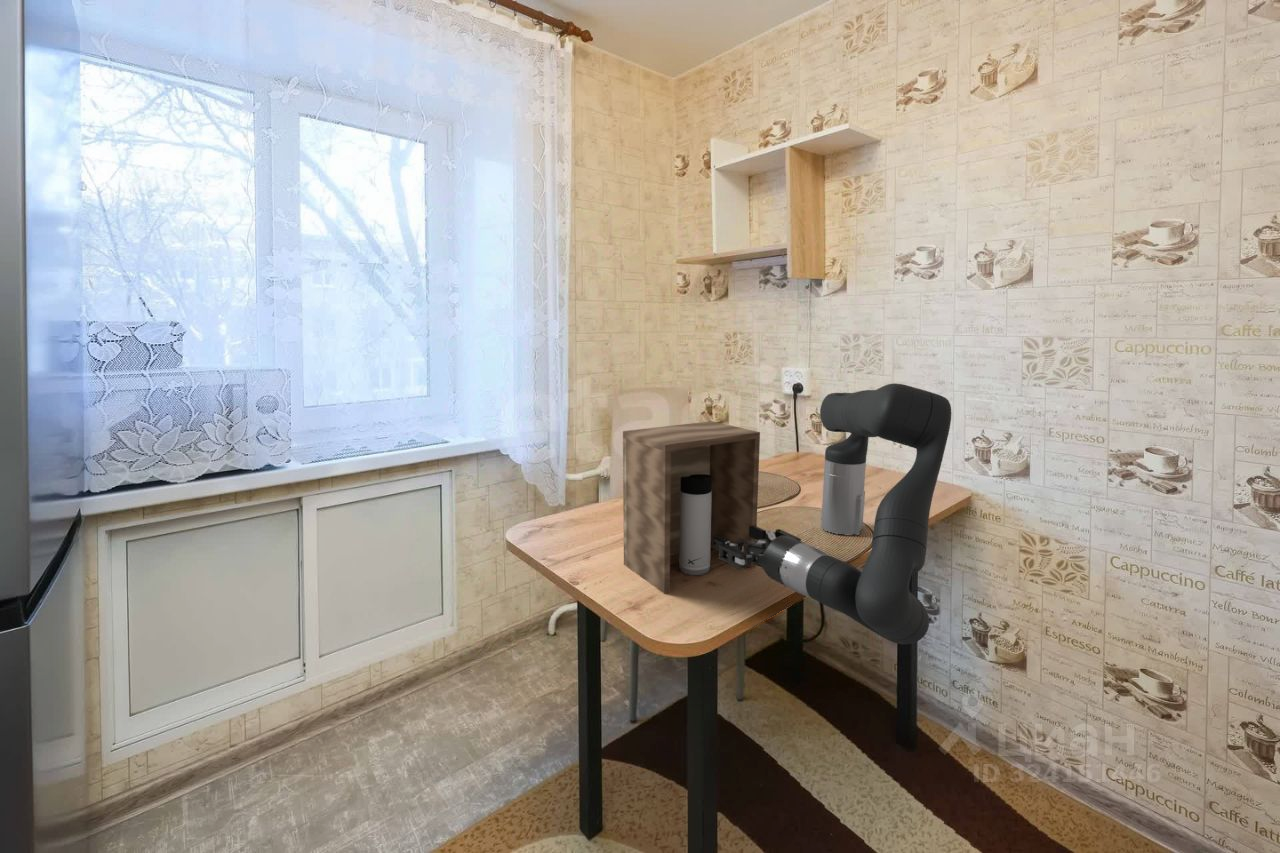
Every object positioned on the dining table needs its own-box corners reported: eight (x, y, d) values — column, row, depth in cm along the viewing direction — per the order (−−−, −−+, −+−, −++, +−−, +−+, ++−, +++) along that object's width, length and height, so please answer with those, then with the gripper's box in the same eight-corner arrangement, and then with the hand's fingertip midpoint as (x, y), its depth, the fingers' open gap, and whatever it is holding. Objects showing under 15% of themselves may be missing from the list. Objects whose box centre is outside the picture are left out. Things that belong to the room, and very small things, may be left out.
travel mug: (694, 579, 110) (696, 480, 106) (672, 567, 115) (673, 473, 112) (717, 571, 114) (719, 475, 110) (695, 560, 119) (697, 468, 115)
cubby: (755, 566, 116) (760, 432, 111) (664, 593, 104) (665, 444, 99) (709, 542, 128) (711, 421, 123) (623, 564, 117) (622, 431, 112)
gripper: (831, 535, 92) (762, 508, 106) (767, 553, 85) (701, 522, 99) (828, 578, 94) (760, 546, 107) (765, 599, 86) (701, 562, 100)
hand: (732, 534), depth 103 cm, fingers open, 8 cm apart
